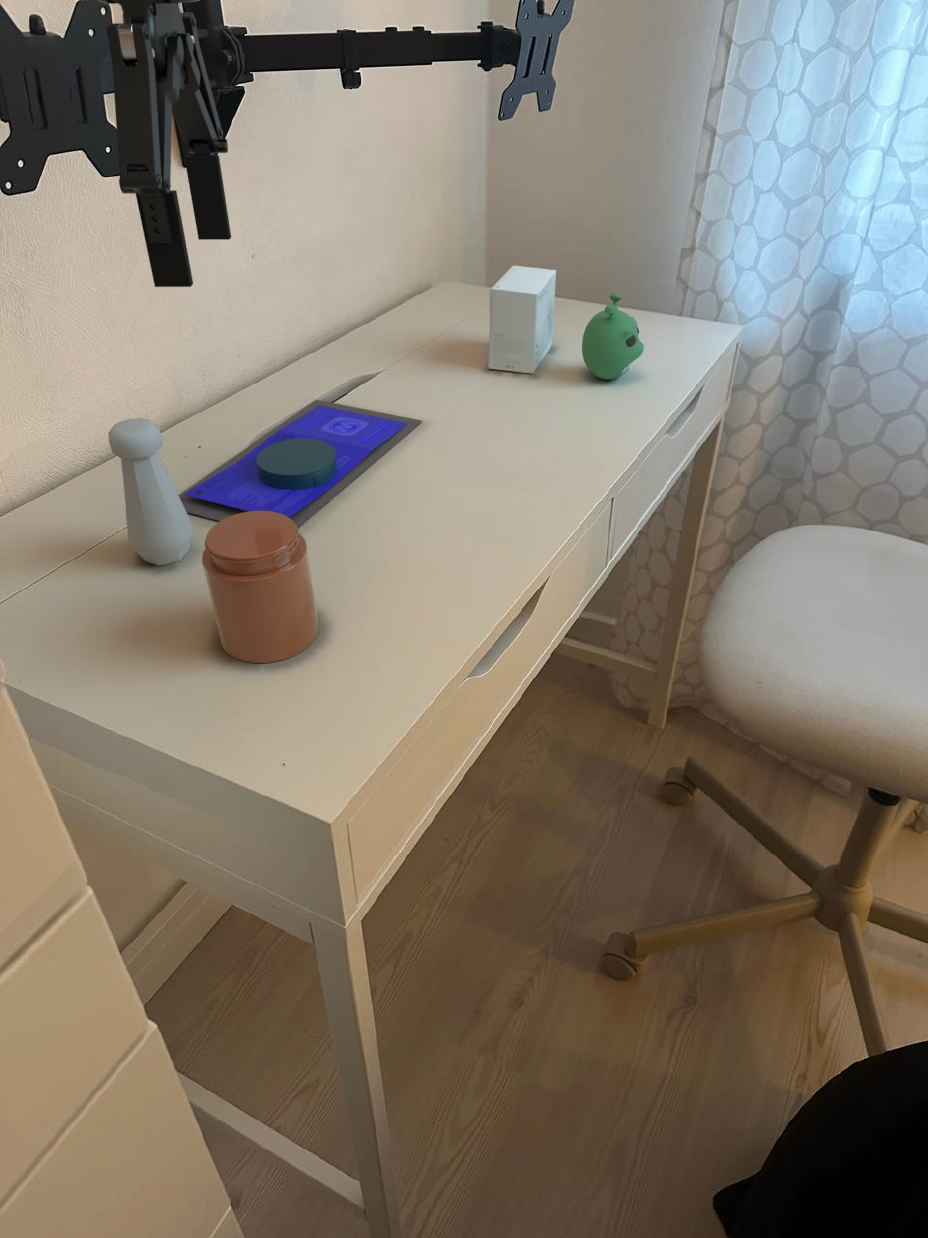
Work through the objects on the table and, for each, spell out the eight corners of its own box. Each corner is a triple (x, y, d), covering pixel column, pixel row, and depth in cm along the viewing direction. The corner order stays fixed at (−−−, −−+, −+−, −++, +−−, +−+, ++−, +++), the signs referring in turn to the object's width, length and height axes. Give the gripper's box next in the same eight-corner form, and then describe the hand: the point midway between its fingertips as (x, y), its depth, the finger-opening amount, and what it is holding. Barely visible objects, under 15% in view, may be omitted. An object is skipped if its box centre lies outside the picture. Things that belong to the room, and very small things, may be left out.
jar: (223, 671, 70) (198, 570, 64) (218, 612, 76) (196, 514, 70) (324, 653, 71) (310, 552, 66) (312, 596, 78) (298, 500, 72)
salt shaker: (209, 541, 85) (180, 413, 77) (178, 574, 81) (144, 443, 73) (154, 533, 86) (120, 407, 78) (121, 565, 82) (81, 435, 74)
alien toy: (637, 391, 111) (645, 310, 105) (575, 385, 112) (580, 305, 106) (643, 369, 116) (651, 291, 110) (584, 364, 118) (589, 287, 112)
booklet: (408, 423, 104) (408, 417, 104) (285, 526, 86) (284, 520, 86) (319, 405, 108) (318, 399, 108) (184, 500, 91) (183, 494, 90)
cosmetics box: (535, 375, 115) (538, 292, 109) (487, 369, 117) (487, 288, 110) (554, 346, 123) (557, 267, 117) (509, 341, 125) (510, 263, 118)
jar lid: (351, 476, 94) (350, 459, 93) (279, 499, 90) (277, 483, 89) (315, 446, 100) (313, 431, 98) (246, 467, 96) (243, 451, 95)
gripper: (137, -67, 70) (188, 222, 83) (5, -73, 50) (99, 309, 63) (232, -67, 70) (269, 222, 83) (139, -73, 50) (206, 309, 63)
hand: (196, 260), depth 73 cm, fingers open, 13 cm apart
